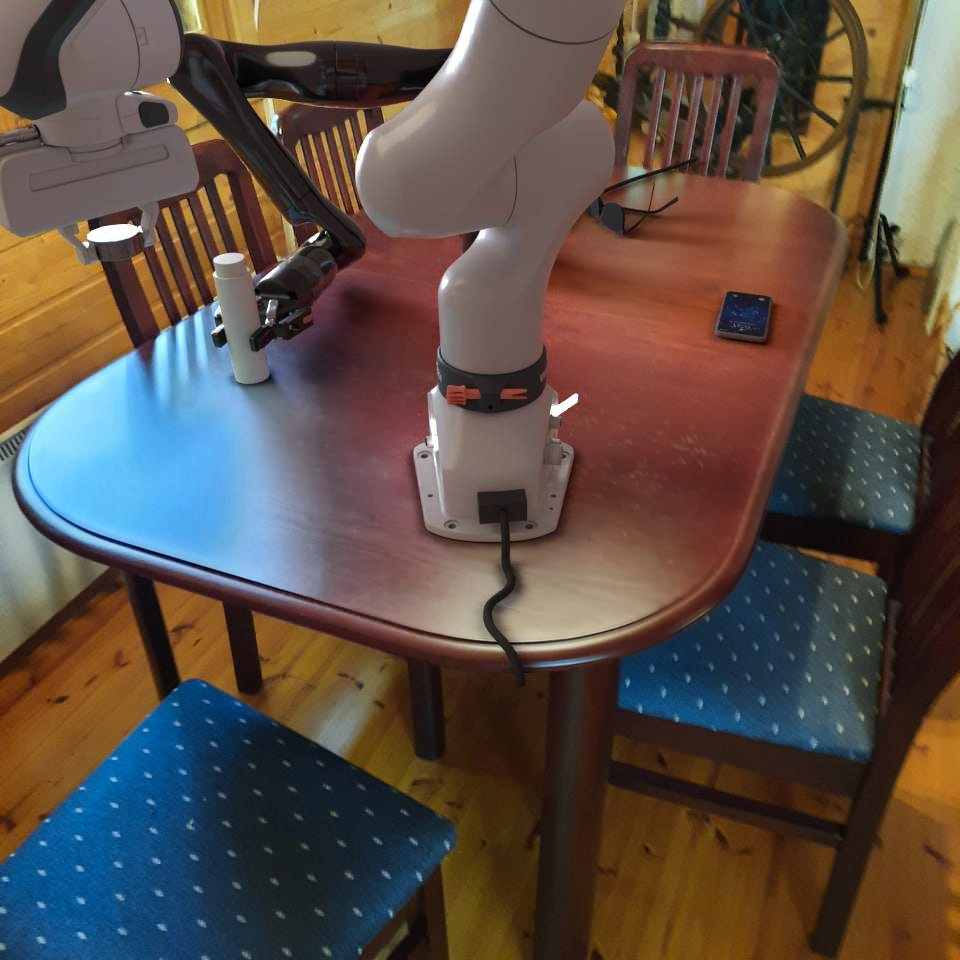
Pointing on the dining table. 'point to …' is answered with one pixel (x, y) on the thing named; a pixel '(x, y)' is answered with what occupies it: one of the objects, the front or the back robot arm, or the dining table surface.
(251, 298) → the white cylinder
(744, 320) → the smartphone
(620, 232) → the sunglasses
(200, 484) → the dining table surface
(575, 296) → the dining table surface
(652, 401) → the dining table surface
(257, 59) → the back robot arm
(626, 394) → the dining table surface
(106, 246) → the lid
